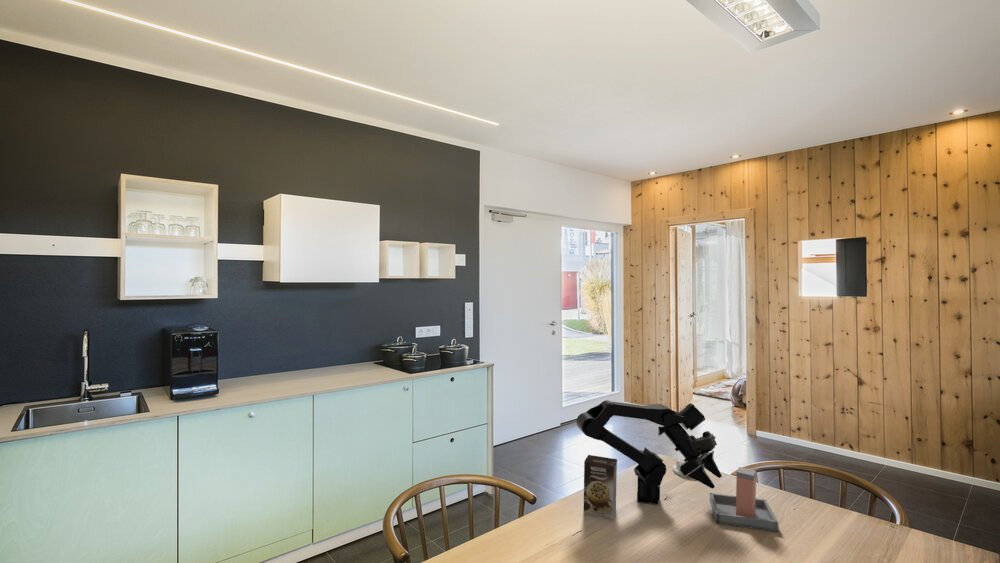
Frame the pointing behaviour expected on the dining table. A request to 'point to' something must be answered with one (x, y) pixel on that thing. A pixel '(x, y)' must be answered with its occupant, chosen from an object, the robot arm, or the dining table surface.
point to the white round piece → (677, 467)
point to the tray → (727, 516)
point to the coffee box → (600, 486)
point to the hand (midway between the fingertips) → (717, 482)
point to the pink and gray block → (746, 492)
